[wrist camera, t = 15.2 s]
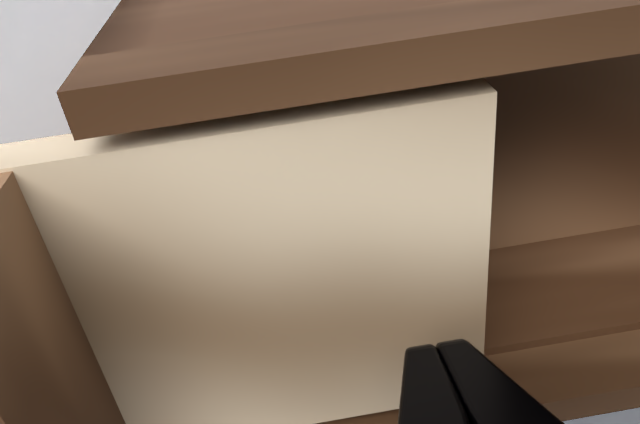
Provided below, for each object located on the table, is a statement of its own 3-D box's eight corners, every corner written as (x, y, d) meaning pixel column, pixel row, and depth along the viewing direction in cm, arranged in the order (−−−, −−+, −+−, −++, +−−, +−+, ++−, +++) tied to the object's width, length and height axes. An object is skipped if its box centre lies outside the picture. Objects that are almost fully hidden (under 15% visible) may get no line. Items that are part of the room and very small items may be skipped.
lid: (466, 360, 11) (539, 524, 9) (-283, 492, 11) (-458, 711, 8) (475, 71, 8) (593, 183, 6) (-577, 233, 8) (-1023, 448, 5)
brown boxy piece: (748, 216, 15) (936, 353, 11) (212, 306, 15) (203, 486, 11) (857, -110, 11) (1213, -82, 7) (124, -4, 11) (56, 92, 7)
